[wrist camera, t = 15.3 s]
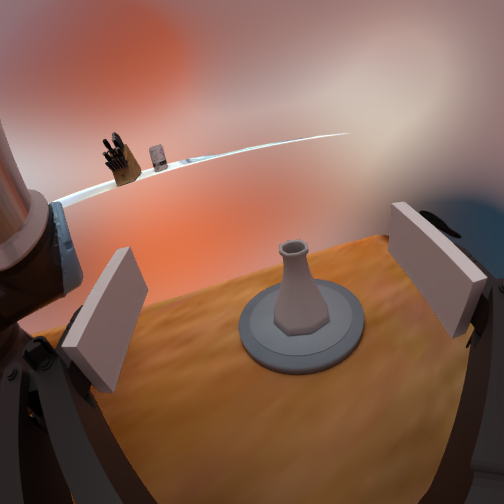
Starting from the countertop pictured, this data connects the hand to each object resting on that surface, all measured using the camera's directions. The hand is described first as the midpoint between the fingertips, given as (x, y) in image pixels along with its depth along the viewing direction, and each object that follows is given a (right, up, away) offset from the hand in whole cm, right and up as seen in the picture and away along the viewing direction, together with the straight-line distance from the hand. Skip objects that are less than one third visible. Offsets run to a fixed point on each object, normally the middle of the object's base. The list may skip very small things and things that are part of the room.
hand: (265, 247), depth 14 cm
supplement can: (-54, +48, +145) cm, 162 cm away
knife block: (-73, +41, +140) cm, 163 cm away
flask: (+6, -8, +22) cm, 24 cm away
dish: (+6, -10, +22) cm, 25 cm away
